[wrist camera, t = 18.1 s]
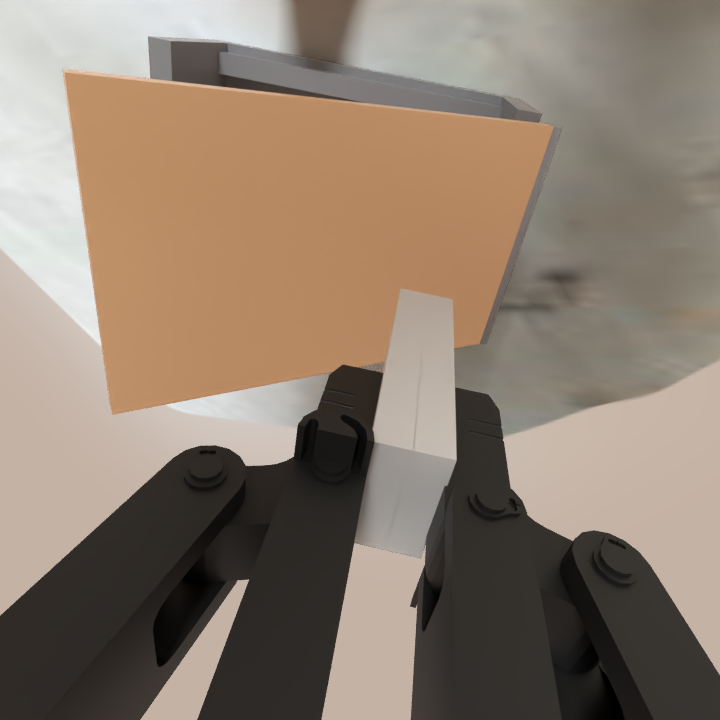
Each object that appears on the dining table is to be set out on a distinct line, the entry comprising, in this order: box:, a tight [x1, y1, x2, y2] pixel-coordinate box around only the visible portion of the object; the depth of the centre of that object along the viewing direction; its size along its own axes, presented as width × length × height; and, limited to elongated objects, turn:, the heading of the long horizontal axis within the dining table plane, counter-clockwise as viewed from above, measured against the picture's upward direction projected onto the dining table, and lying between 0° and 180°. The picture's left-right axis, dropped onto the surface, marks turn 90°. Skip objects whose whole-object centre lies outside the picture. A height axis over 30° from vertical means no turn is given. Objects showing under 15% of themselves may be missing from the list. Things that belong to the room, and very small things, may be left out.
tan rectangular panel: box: [62, 69, 563, 414], centre depth 19 cm, size 10×18×1 cm
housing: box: [148, 37, 542, 123], centre depth 27 cm, size 11×17×8 cm, turn 81°
